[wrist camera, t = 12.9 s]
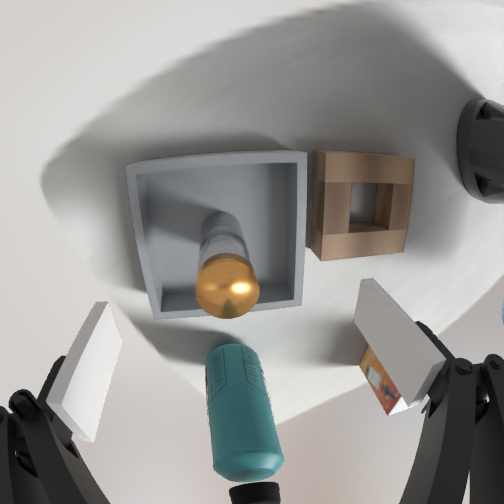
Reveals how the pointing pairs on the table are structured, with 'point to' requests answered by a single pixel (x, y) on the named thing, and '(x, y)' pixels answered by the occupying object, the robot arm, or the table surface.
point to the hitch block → (339, 199)
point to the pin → (225, 269)
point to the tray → (211, 201)
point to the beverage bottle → (242, 424)
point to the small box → (382, 383)
